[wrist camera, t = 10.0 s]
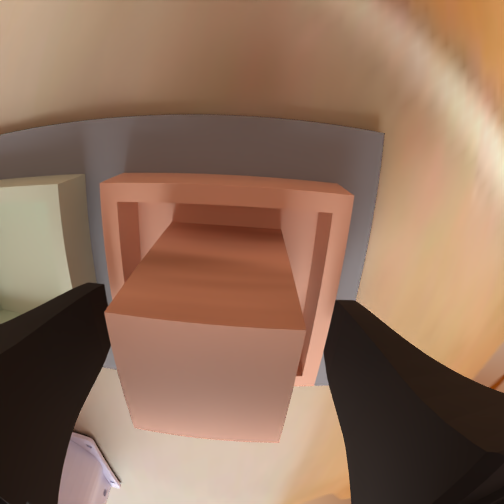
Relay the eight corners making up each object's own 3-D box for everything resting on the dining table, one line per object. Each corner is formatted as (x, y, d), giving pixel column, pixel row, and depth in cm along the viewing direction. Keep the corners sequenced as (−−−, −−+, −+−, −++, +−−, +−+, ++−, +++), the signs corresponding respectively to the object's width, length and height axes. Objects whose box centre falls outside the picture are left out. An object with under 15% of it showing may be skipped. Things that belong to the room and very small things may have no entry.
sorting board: (328, 377, 15) (338, 414, 13) (4, 335, 15) (-16, 358, 12) (378, 132, 11) (409, 136, 8) (-35, 144, 10) (-69, 152, 8)
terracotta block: (270, 321, 13) (278, 442, 7) (174, 313, 13) (134, 428, 7) (281, 229, 11) (306, 330, 6) (171, 221, 11) (104, 312, 6)
